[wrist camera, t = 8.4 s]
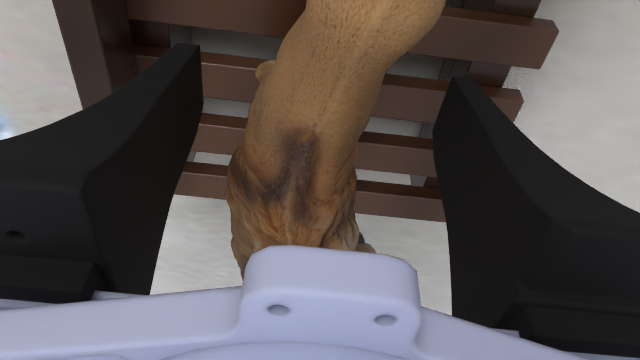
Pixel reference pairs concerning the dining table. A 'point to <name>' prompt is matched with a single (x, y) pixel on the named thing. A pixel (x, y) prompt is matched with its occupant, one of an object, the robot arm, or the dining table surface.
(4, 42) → the dining table surface
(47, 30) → the dining table surface
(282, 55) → the lion figurine
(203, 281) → the dining table surface
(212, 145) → the rack
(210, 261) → the dining table surface
